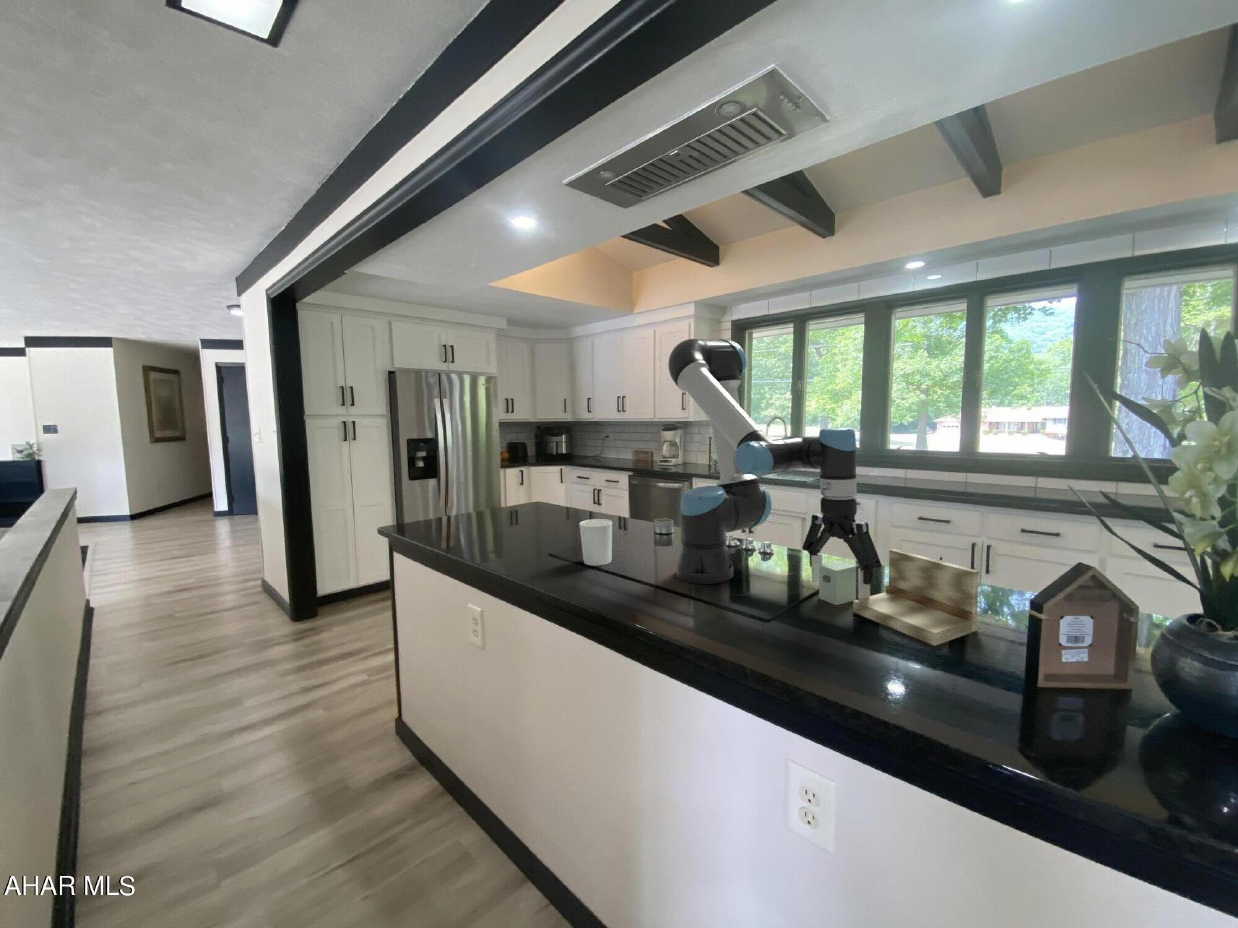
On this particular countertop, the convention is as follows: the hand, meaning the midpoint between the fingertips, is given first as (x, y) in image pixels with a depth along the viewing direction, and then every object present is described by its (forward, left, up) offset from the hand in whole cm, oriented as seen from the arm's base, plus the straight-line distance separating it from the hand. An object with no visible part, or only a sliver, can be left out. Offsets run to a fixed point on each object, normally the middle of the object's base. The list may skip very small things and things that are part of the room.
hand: (839, 589), depth 118 cm
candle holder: (-58, -36, -3) cm, 68 cm away
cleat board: (+15, +4, -2) cm, 16 cm away
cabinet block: (-1, 0, -3) cm, 3 cm away
